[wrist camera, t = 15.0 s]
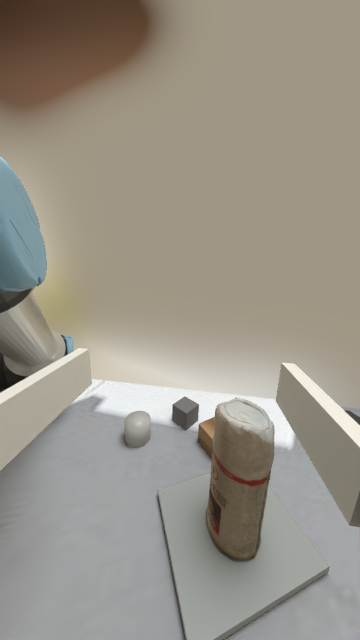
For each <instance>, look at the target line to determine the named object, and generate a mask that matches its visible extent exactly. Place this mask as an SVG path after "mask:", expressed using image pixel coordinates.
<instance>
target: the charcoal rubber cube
mask: <svg viewBox="0 0 360 640" xmlns="http://www.w3.org/2000/svg"><path fill="white" fill-rule="evenodd" d="M198 410H199V404H197V403H195V402H194V401H192V400H190V399H188V398H187V397H183V398H182V399H180V400H179V401H177V402H176V403H174V404H173V415H172V420H173V421H174V422H175V423H177V424H178V425H180V426H181V427H182V428H184V429H185V430H187V429H188V428H189V427H191V426H192V425H193V424H194V423H195V422H196V421H197V420H198Z"/></svg>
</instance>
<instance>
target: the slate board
mask: <svg viewBox="0 0 360 640" xmlns="http://www.w3.org/2000/svg"><path fill="white" fill-rule="evenodd" d="M210 478H211V473H208V474H205V475H202V476H198V477H195V478H192V479H189V480H186V481H183V482H180V483H177V484H174V485H171V486H168V487H165V488H162V489H159V490H158V499H159V504H160V509H161V515H162V520H163V525H164V530H165V536H166V541H167V546H168V551H169V557H170V562H171V567H172V572H173V577H174V583H175V588H176V593H177V598H178V604H179V609H180V614H181V619H182V625H183V630H184V635H185V640H223V639H225V638H227V637H228V636H230V635H231V634H233V633H234V632H236V631H237V630H239V629H241V628H242V627H244V626H245V625H247V624H248V623H250V622H251V621H253V620H255V619H256V618H258V617H259V616H261V615H262V614H264V613H265V612H267V611H269V610H270V609H272V608H273V607H275V606H276V605H278V604H280V603H281V602H283V601H284V600H286V599H287V598H289V597H290V596H292V595H294V594H295V593H297V592H298V591H300V590H301V589H303V588H304V587H306V586H308V585H309V584H311V583H312V582H314V581H315V580H317V579H318V578H320V577H322V576H323V575H325V574H326V573H328V571H329V567H330V566H329V565H328V563H327V562H326V560H325V559H324V558H323V556H322V555H321V554H320V552H319V551H318V550H317V548H316V547H315V546H314V544H313V543H312V541H311V540H310V539H309V537H308V536H307V535H306V533H305V532H304V531H303V529H302V528H301V527H300V525H299V524H298V522H297V521H296V520H295V518H294V517H293V516H292V514H291V513H290V512H289V510H288V509H287V508H286V506H285V505H284V503H283V502H282V501H281V499H280V498H279V497H278V495H277V494H276V493H275V491H274V490H273V489H272V487H271V486H270V484H268V490H267V499H266V505H265V510H264V517H263V522H262V529H261V543H260V547H259V549H258V552H257V554H256V556H255V557H252V558H249V559H234V558H231V557H229V556H228V555H226V554H225V553H223V552H222V551H221V550H220V549H219V548H218V547H217V546H216V544H215V543H214V541H213V540H212V537H211V534H210V531H209V528H208V525H207V521H206V510H207V507H208V501H209V490H210Z"/></svg>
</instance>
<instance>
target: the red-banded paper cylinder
mask: <svg viewBox="0 0 360 640" xmlns="http://www.w3.org/2000/svg"><path fill="white" fill-rule="evenodd" d="M215 410H216V411H215V431H214V436H213V455H212V465H211V478H210V490H209V501H208V507H207V510H206V521H207V525H208V528H209V531H210V534H211V537H212V540H213V541H214V543H215V544H216V546H217V547H218V548H219V549H220V550H221V551H222V552H223V553H225V554H226V555H228V556H229V557H231V558H234V559H249V558H252V557H255V556H256V554H257V552H258V549H259V547H260V543H261V529H262V522H263V517H264V510H265V505H266V499H267V490H268V484H269V480H270V473H271V467H272V463H273V459H274V425H273V422H272V421H271V420H270V419H269V417H268V415H267V414H266V412H265V411H264V410H263V409H262V408H261V407H259V406H257V405H256V404H254V403H252V402H249V401H247V400H245V399H241V398H235V399H233V400H231V401H228V402H224V403H221V404H219V405H217V408H216V409H215Z"/></svg>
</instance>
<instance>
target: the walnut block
mask: <svg viewBox="0 0 360 640" xmlns="http://www.w3.org/2000/svg"><path fill="white" fill-rule="evenodd" d="M214 431H215V417H213V418H211V419H209V420H206V421H204V422H202V423H200V424H199V432H198V442H199V443H200V444H201V446H202V447H203V448H204V449H205V451H206V452H207V453H208V455H209V456H210V457H211V458H212V455H213V436H214Z"/></svg>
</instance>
